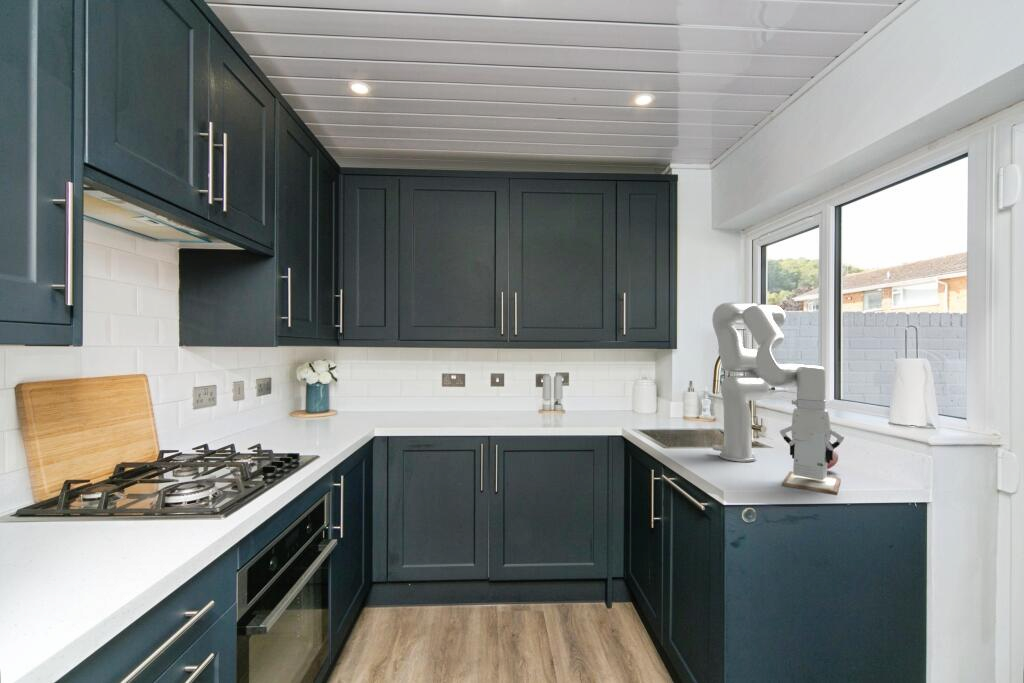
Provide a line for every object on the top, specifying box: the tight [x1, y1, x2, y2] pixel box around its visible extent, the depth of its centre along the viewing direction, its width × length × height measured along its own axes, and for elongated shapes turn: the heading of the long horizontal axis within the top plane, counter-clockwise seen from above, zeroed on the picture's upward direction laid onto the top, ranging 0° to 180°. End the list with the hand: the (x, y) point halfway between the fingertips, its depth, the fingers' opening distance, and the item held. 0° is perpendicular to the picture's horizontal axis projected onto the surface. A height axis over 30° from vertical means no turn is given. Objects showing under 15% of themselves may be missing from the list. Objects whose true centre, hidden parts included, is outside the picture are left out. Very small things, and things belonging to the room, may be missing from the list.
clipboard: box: [781, 470, 841, 495], centre depth 146 cm, size 14×17×2 cm
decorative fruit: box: [827, 449, 839, 470], centre depth 161 cm, size 9×8×10 cm
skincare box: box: [792, 432, 828, 480], centre depth 146 cm, size 8×6×15 cm
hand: (810, 459), depth 146 cm, fingers closed on skincare box, 8 cm apart
